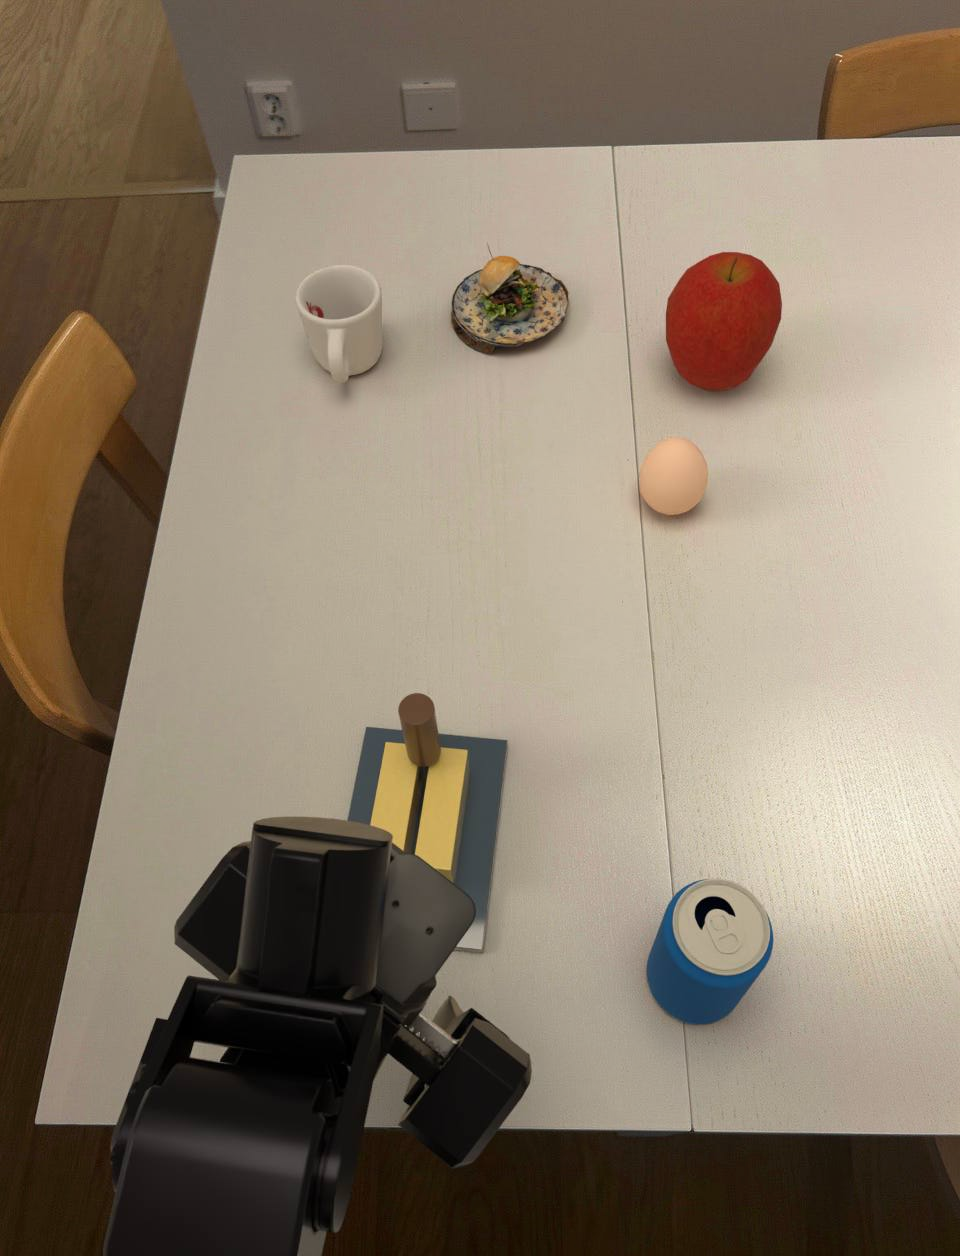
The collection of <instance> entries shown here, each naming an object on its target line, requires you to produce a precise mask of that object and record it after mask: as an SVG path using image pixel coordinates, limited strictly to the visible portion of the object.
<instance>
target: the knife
mask: <svg viewBox="0 0 960 1256" xmlns="http://www.w3.org/2000/svg"><path fill="white" fill-rule="evenodd" d="M397 709H398V710H397V711H398V712H397V713H398V717H399V721H400V726H401V730H402V731H403V736H404V741H405V745H406V750H407V755H408V758H409V760H410V761H411V762H412V763H413V764H415V765H417V766H421V767H423V770H424V775H425V781H426V782H427V775H428V769H429V766H430V765H432V764H434V763H435V762H436V761H437V760H438V759H439V757H440V754H441V747H440V740H439V734H440V733H439V727H438V721H437V715H436V708H435V704H434V701H433V700H432V698H431V697H430V696H428V695H426V694H424V693H420V692H416V693H409V694H408V695H405V696H404V697H403V699H402V700H401V701H400V703H399V705H398V707H397Z"/></svg>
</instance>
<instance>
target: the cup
mask: <svg viewBox="0 0 960 1256" xmlns="http://www.w3.org/2000/svg"><path fill="white" fill-rule="evenodd" d="M295 306H296V309H297V312H298V314H299V317H300V320H301V322H302V326H303V328H304V331H305V334H306V336H307V339H308V342H309V344H310V347H311V350H312V352H313V355H314V358H315V359H316V361H317V362H318V364H319V365H320V366H321V367H322V368H323V369H324V370H326V371H327V372H329V373H330V375H331V378H332V380H333V382H336V383H346V382H347V381H348V379H349V377H350V376H356V375H359V374H362V373H365V372H366V371H368V370H370V369H371V368H372V367H374V365H376V363H377V362H378V361H379V359H380V357H381V354H382V350H383V293H382V287H381V284H380V281H379V280H378V278H376V276H375V275H373V274H372V273H371V272H370V271H368V270H367V269H365V268H362V267H359V266H356V265H350V264H335V265H334V264H333V265H329V266H325V267H322V268H319V269H317V270H315V271H313V272H312V273H310V274H309V275H306V277H305V278H304V279H302V281H301V282H300V283H299V285H298V287H297V288H296V292H295Z"/></svg>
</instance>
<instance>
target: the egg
mask: <svg viewBox="0 0 960 1256" xmlns="http://www.w3.org/2000/svg"><path fill="white" fill-rule="evenodd" d="M638 480H639V481H638V482H639V483H638V484H639V490H640V492H641V495H642V498H643V500H645V503H647V505H648V506H649V507H650V508H651V509H653V510H654V511H656V512H658V513H660V514H664V515H668V516H674V515H680V514H684V513H687V512H688V511H690V510H692V508H693V509H694V507H695V506H696V505H697V504H698V503H699V502H700V501H701V500H702V498H703V497H704V495H705V492H706V489H707V487H708V480H709V467H708V463H707V460H706V458H705V456H704V454H703V452H702V450H701V449H700V448H699V447H698V445H697V444H695V443H694V442H693V441H691V440H689V439H687V438H684V437H677V436H676V437H675V436H674V437H669V438H666V439H664V440H662V441H660V442H658V443H657V444H655V446H653V447H652V449H651V450H650V451H649V452H648V453H647V454H646V456H645V457H644V460H643V462H642V464H641V466H640V470H639V476H638Z"/></svg>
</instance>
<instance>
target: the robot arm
mask: <svg viewBox="0 0 960 1256" xmlns="http://www.w3.org/2000/svg"><path fill="white" fill-rule="evenodd" d="M252 824H253V825H252V830H251V836H250V837H251V838H250V840H249V841H242V842H240V843H238V844H236V845H234V846H233V847H231V848H230V850H228V851H227V853H225V854H224V856H223V857H222V858H221V859H220V860H219V862H218V863H217V865H216V866H215V867H214V868H213V870H212V871H211V873H210V874H209V875H208V877H207V878H206V880H205V881H204V882H203V883H202V884H201V887H200V888H199V889H198V890H197V892H196V893H195V895H194V896H193V897H192V898H191V900H190V902H189V903H188V904H187V905H186V907H185V908H184V909H183V911H182V912H181V913H180V915H179V916H178V918H177V919H176V921H175V923H174V927H173V931H174V933H173V934H174V935H173V936H174V939H173V940H174V945H175V946H177V947H178V948H179V949H180V950H181V951H183V952H184V953H185V954H186V955H188V957H190V958H192V960H193V961H194V962H196V963H197V964H199V965H200V966H201V967H202V968H203V969H205V970H206V971H208V972H209V973H210V974H211V975H212V976H214V978H210V977H209V978H208V977H202V976H195V975H187V976H186V978H185V980H184V981H183V984H182V985H181V988H180V991H179V993H178V995H177V997H176V999H175V1002H174V1004H173V1006H172V1008H171V1010H170V1013H169V1015H168V1017H167V1019H166V1018H160V1017H155V1019H154V1022H153V1025H152V1028H151V1030H150V1033H149V1035H148V1039H147V1040H146V1044H145V1047H144V1049H143V1052H142V1055H141V1058H140V1059H139V1063H138V1066H137V1068H136V1071H135V1074H134V1076H133V1079H132V1082H131V1084H130V1087H129V1089H128V1092H127V1095H126V1097H125V1100H124V1103H123V1106H122V1108H121V1110H120V1113H119V1116H118V1119H117V1121H116V1124H115V1127H114V1130H113V1133H112V1136H111V1140H110V1156H109V1163H110V1164H111V1183H112V1189H113V1191H114V1192H115V1195H114V1199H113V1202H112V1208H111V1211H110V1214H109V1215H110V1216H109V1221H108V1225H107V1228H106V1232H105V1238H104V1242H103V1247H102V1256H323V1255H322V1254H323V1251H324V1246H325V1242H326V1236H327V1232H328V1233H332V1234H336V1233H338V1232H339V1231H340V1229H341V1227H342V1224H343V1222H344V1219H345V1217H346V1214H347V1209H348V1206H349V1202H350V1199H351V1194H352V1190H353V1186H354V1181H355V1175H356V1170H357V1165H358V1160H359V1155H360V1151H361V1145H362V1140H363V1136H364V1129H365V1125H366V1121H367V1120H366V1119H367V1116H368V1110H369V1105H370V1101H371V1095H372V1090H373V1086H374V1081H375V1079H376V1077H377V1075H378V1073H379V1071H380V1069H381V1067H382V1065H383V1063H384V1062H385V1060H386V1058H387V1056H388V1055H389V1056H390V1057H392V1058H393V1059H394V1060H395V1061H397V1063H399V1064H400V1065H401V1066H403V1067H404V1068H405V1069H407V1070H408V1071H409V1072H410V1073H411V1076H410V1079H409V1082H408V1085H407V1086H406V1090H405V1093H404V1096H403V1098H402V1101H403V1103H405V1104H406V1105H407V1106H408V1107H407V1108H406V1110H405V1111H404V1112H403V1113H402V1115H401V1117H400V1119H399V1121H398V1126H399V1127H400V1128H402V1130H404V1131H405V1132H406V1133H408V1134H409V1135H410V1136H412V1138H414V1139H415V1140H416V1141H418V1142H419V1143H420V1144H421V1145H423V1147H425V1148H426V1149H428V1150H429V1151H430V1152H431V1153H432V1154H433V1155H435V1156H436V1157H437V1158H438V1159H440V1160H441V1161H442V1162H443V1163H445V1164H446V1165H447V1166H448V1167H450V1168H451V1169H456V1168H461V1167H465V1166H469V1165H470V1164H472V1163H473V1162H475V1161H476V1160H477V1158H478V1157H479V1156H480V1154H481V1153H482V1152H483V1151H484V1149H485V1148H486V1146H487V1145H488V1144H489V1142H490V1141H491V1140H492V1138H493V1137H494V1136H495V1134H496V1133H497V1132H498V1130H499V1129H500V1128H501V1126H502V1125H503V1124H504V1122H505V1121H506V1119H507V1118H508V1117H509V1116H510V1115H511V1113H512V1112H513V1110H514V1109H515V1108H516V1107H517V1105H518V1104H519V1103H520V1101H521V1100H522V1098H523V1097H524V1095H525V1093H526V1091H527V1090H528V1088H529V1086H530V1084H531V1079H532V1072H533V1068H532V1060H531V1055H530V1053H529V1052H527V1051H526V1050H524V1049H523V1048H522V1047H521V1046H519V1044H517V1043H515V1042H514V1041H513V1040H512V1039H511V1038H510V1036H509V1035H508V1034H506V1033H505V1032H503V1030H501V1029H500V1028H498V1027H497V1026H496V1025H494V1024H493V1023H492V1022H491V1021H490V1020H488V1019H487V1018H486V1017H485V1016H483V1015H482V1014H481V1013H479V1012H478V1011H477V1010H475V1009H474V1008H473V1007H470V1008H468V1009H467V1010H465V1011H464V1012H463V1010H462V1008H461V1006H460V1005H459V1003H458V1002H457V1000H456V999H455V998H454V997H453V996H452V995H448V996H447V998H446V999H445V1000H444V1002H443V1003H442V1004H441V1006H440V1007H439V1009H438V1010H437V1012H436V1013H435V1015H434V1017H433V1018H432V1019H430V1018H429V1017H428V1016H426V1015H425V1014H424V1013H423V1012H422V1011H423V1010H424V1008H425V1006H426V1003H427V1002H428V1001H429V998H430V997H431V994H432V992H433V991H434V990H435V988H436V987H437V984H438V982H437V977H436V976H437V974H438V973H439V971H441V969H442V967H443V966H444V964H445V963H446V962H447V960H448V959H449V958H450V957H451V955H452V953H453V952H454V951H455V950H454V949H455V948H456V946H457V945H458V943H459V942H460V941H461V939H462V938H463V936H464V935H465V934H466V932H467V931H468V929H469V928H470V927H471V925H472V924H473V922H474V919H475V916H476V907H475V904H474V902H473V900H472V898H471V897H470V896H469V895H468V894H467V893H466V892H464V891H463V890H462V889H460V888H459V887H458V886H457V885H455V884H454V883H453V882H451V881H450V880H449V879H448V878H446V877H445V876H444V875H442V874H441V873H440V872H438V871H437V870H436V869H435V868H433V867H432V866H431V865H429V864H428V863H427V862H426V861H424V860H423V859H422V858H420V857H419V856H417V855H415V854H412V853H406V852H404V851H403V850H402V849H400V848H399V847H398V846H396V845H395V844H394V843H393V842H392V839H393V835H392V834H391V833H390V832H388V831H386V830H384V829H381V828H378V827H375V826H371V825H367V824H363V823H358V822H352V821H347V820H345V819H338V818H329V817H319V816H318V817H317V816H274V817H273V816H272V817H266V818H261V819H258V820H255V821H253V823H252ZM215 978H216V979H215ZM412 1028H413V1030H411V1029H412ZM418 1033H419V1035H417V1034H418ZM195 1043H199V1044H205V1045H210V1046H211V1045H212V1046H218V1047H224V1048H226V1050H225V1051H224V1053H223V1055H222V1056H221V1057H220V1060H219V1061H217V1060H212V1059H205V1058H200V1057H199V1058H198V1057H193V1056H191V1054H192V1051H193V1049H194V1045H195Z"/></svg>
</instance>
